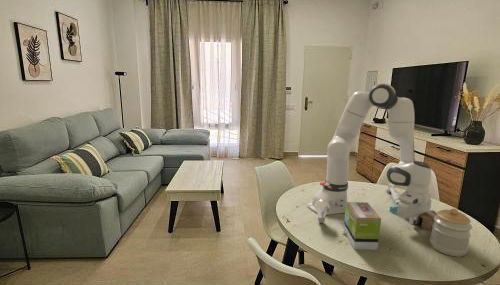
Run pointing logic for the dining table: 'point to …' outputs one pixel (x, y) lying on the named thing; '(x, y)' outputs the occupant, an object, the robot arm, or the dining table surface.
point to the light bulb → (322, 209)
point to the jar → (451, 232)
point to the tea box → (362, 225)
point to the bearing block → (426, 220)
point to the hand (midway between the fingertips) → (412, 222)
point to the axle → (422, 218)
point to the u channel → (394, 209)
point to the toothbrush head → (393, 193)
